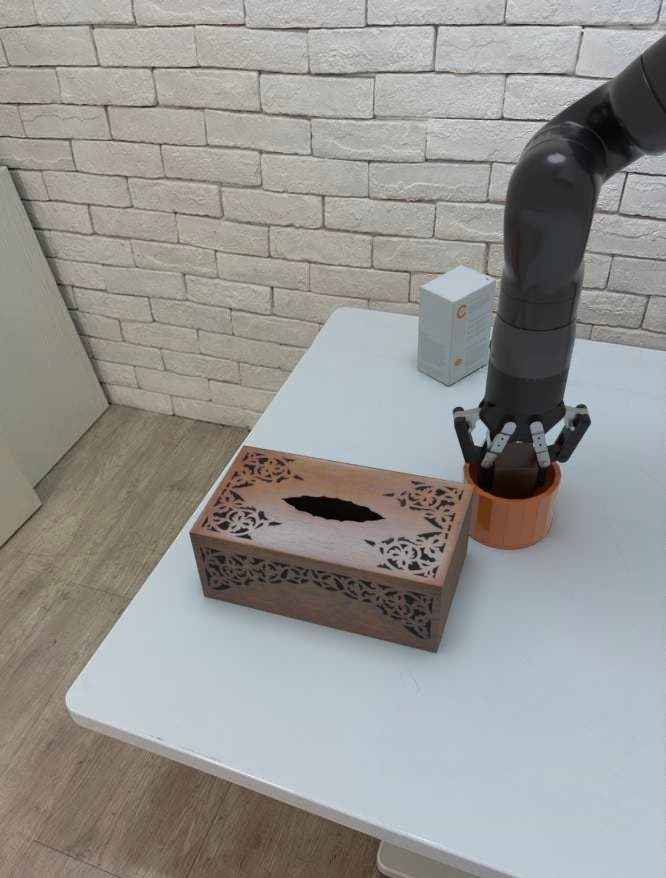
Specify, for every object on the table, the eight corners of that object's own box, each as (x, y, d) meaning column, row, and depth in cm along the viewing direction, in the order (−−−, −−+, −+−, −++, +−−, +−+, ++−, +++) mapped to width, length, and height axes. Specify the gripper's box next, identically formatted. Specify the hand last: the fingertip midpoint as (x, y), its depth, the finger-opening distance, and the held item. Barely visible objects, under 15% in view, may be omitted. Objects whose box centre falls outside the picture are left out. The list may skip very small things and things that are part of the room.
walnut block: (526, 476, 90) (532, 441, 87) (532, 503, 87) (538, 468, 84) (486, 477, 91) (491, 442, 87) (490, 503, 88) (495, 468, 84)
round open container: (544, 487, 95) (553, 440, 90) (557, 549, 88) (568, 502, 83) (456, 488, 96) (460, 442, 91) (462, 549, 89) (467, 503, 84)
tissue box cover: (204, 596, 88) (189, 532, 81) (253, 509, 97) (243, 445, 90) (436, 653, 80) (442, 587, 73) (466, 552, 89) (474, 485, 82)
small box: (455, 347, 117) (461, 263, 108) (488, 364, 114) (498, 278, 104) (415, 369, 114) (418, 285, 105) (448, 387, 111) (454, 301, 101)
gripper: (456, 378, 75) (445, 510, 87) (616, 373, 73) (582, 510, 85) (451, 335, 80) (441, 466, 92) (600, 330, 78) (571, 464, 90)
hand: (509, 486), depth 89 cm, fingers closed on walnut block, 4 cm apart
